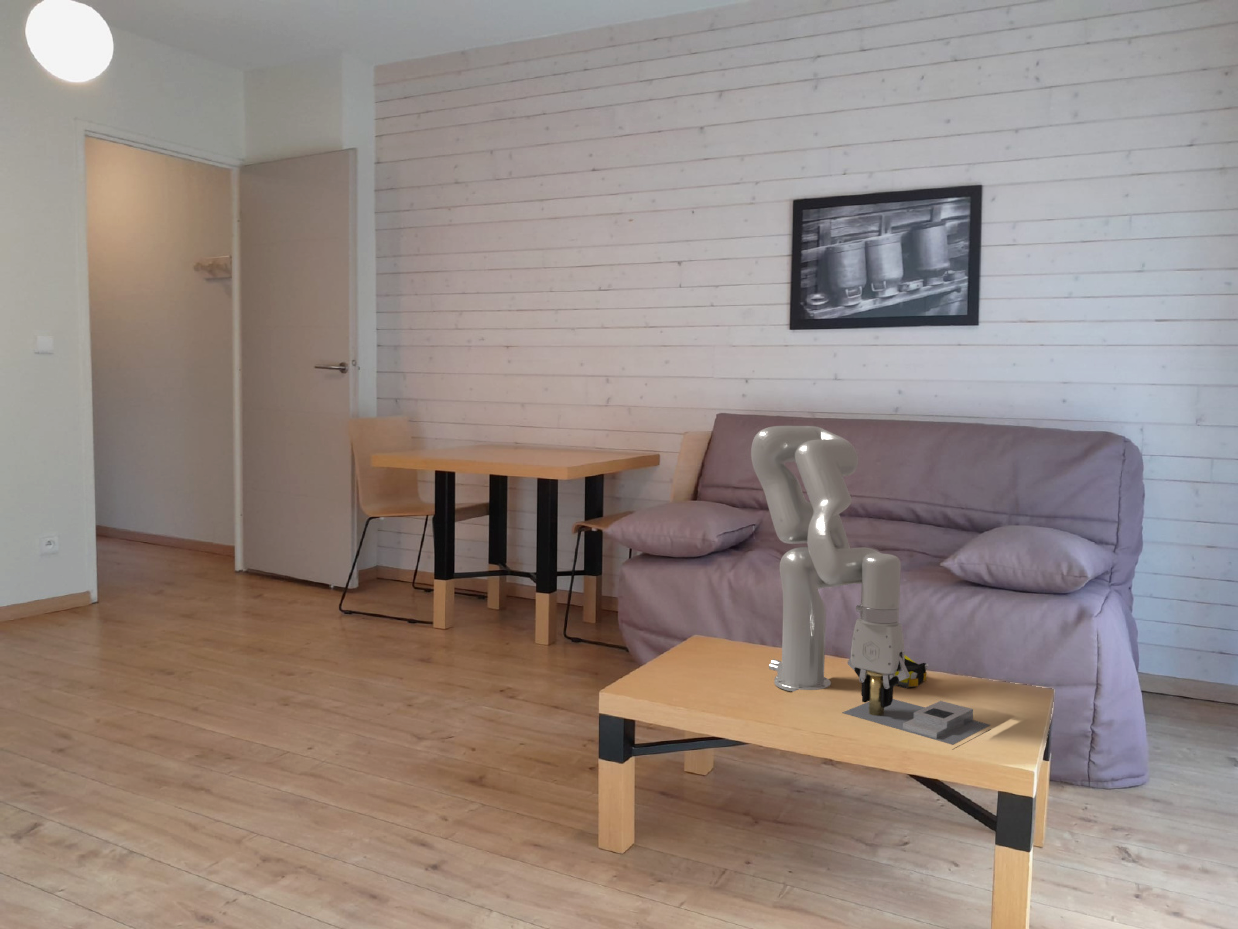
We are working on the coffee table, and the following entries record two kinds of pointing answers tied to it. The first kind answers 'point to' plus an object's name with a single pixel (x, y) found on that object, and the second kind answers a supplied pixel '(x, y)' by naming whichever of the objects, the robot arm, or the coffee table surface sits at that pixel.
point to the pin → (875, 693)
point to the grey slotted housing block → (939, 719)
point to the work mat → (905, 712)
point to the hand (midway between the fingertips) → (876, 702)
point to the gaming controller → (913, 673)
